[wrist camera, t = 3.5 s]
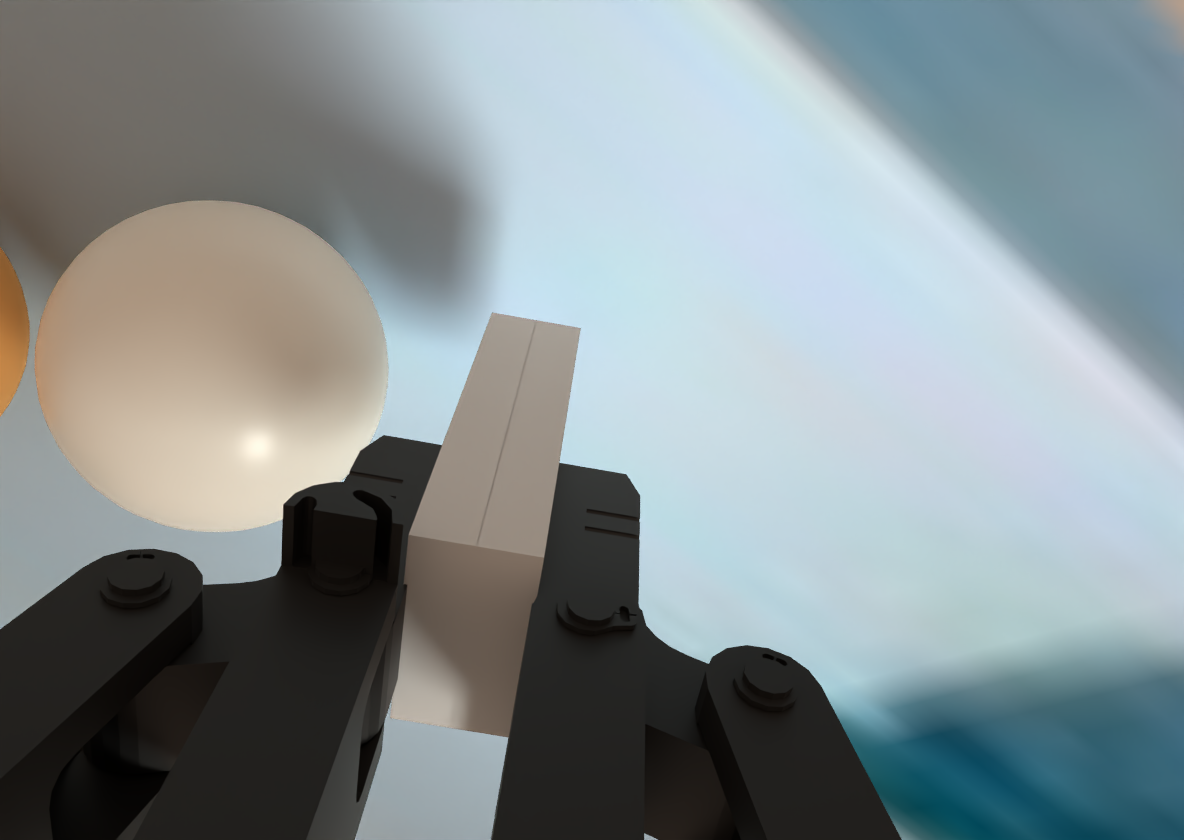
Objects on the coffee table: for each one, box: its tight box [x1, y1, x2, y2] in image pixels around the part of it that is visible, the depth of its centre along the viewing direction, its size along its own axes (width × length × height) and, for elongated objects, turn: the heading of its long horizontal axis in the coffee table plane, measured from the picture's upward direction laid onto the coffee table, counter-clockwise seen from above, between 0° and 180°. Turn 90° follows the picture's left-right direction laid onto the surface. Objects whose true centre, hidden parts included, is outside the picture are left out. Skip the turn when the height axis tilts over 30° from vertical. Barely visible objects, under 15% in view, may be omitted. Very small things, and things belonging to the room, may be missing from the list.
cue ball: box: [35, 200, 389, 532], centre depth 17 cm, size 6×6×6 cm
